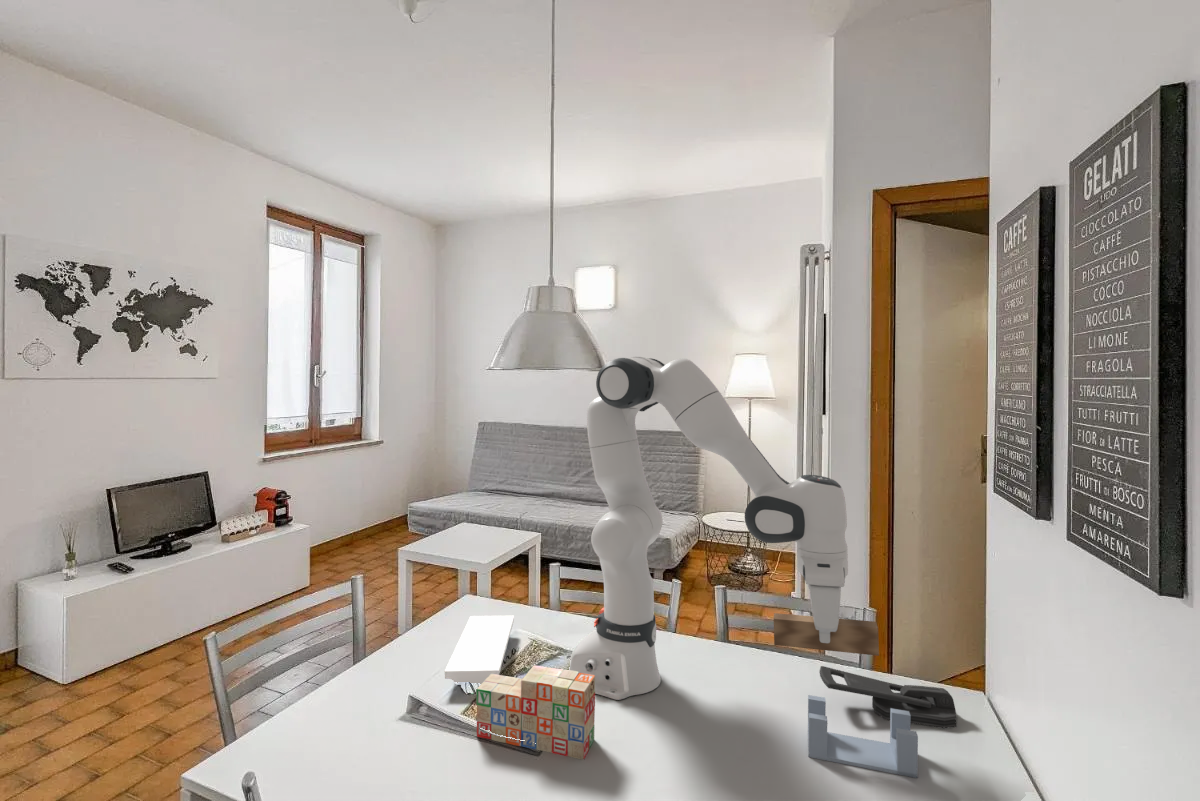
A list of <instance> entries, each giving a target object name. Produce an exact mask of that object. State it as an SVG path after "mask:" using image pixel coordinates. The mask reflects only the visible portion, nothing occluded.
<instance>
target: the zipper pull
mask: <svg viewBox="0 0 1200 801" xmlns="http://www.w3.org/2000/svg"><path fill="white" fill-rule="evenodd" d="M833 676H838V677H841V678H842V679H843V680H844V681H845V684H843V683H840V682H839V683H837V682H836V680H835V679H834V677H833ZM819 677H820V679H821V680H822V682H823V683H824V685H825V687H827V689H829V690H830V689H831V690H837V691H841V692H847V693H853V694H858V695H863V696H868V697H872V701H871V702H872V704H871V706H872V710H873V711H874V713H875V714H876V715H878V716H879V717H881V718H882V719H884V720H886V721H890V708H892V709H898V710H904V711H909V713H910V715H911V725H919V726H924V727H925V726H926V727H931V728H939V729H942V730H943V729H951V728H957V711H956V705H955V702H954V698H953V696H952V695H951V694H950V692H949V691H948V690H947V689H945V688H944V687H943V688H942V687H934V686H926V685H915V684H913V685H912V684H904V685H900V684H897V683H892V682H888V681H884V680H879V679H875V678H872V677H868V676H864V675H860V674H856V673H851V672H847V671H844V670H840V669H835V668H833V667H827V666H823V665H821V666H820V668H819ZM894 691H895V692H894ZM896 691H897V692H896Z"/></svg>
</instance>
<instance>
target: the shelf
mask: <svg viewBox="0 0 1200 801" xmlns="http://www.w3.org/2000/svg"><path fill="white" fill-rule="evenodd" d="M514 620H515V615H470V616H469V618H468V620H467V623H466V624H465V627H464V629H463V631H462V633H461V635H460V638H459V640H458V641H457V644H456V646H455V647H454V650H453V653H452V654H451V657H450V658H449V661H448V662H447V665H446V667H445V669H444V679H447V680H448V679H449V680H452V681H453V683H454V682H457V683H458V682H470V683H480V684H482V683H483V682H484V681H485V680H486V679H487V678H488V677H489V676H490V675H491V674H497V675H500V673H501V669H502V665H503V662H504V658H505V655H506V651H507V647H508V643H509V639H510V636H511V632H512V629H513V625H514Z"/></svg>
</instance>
